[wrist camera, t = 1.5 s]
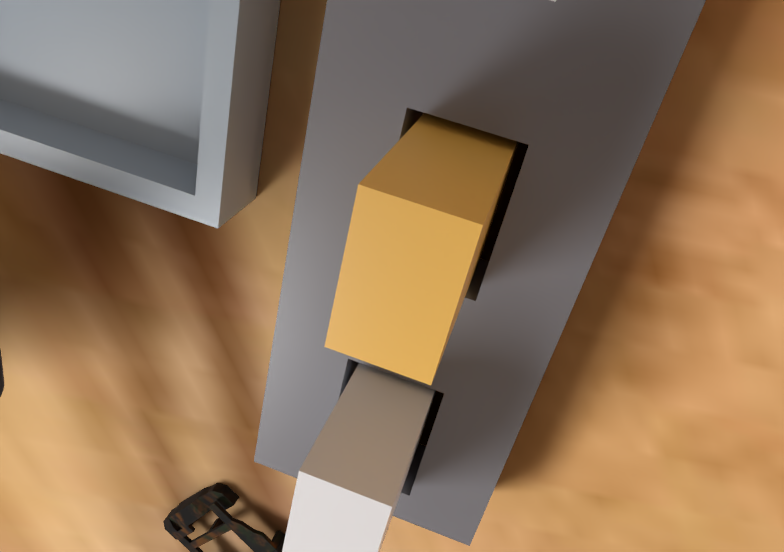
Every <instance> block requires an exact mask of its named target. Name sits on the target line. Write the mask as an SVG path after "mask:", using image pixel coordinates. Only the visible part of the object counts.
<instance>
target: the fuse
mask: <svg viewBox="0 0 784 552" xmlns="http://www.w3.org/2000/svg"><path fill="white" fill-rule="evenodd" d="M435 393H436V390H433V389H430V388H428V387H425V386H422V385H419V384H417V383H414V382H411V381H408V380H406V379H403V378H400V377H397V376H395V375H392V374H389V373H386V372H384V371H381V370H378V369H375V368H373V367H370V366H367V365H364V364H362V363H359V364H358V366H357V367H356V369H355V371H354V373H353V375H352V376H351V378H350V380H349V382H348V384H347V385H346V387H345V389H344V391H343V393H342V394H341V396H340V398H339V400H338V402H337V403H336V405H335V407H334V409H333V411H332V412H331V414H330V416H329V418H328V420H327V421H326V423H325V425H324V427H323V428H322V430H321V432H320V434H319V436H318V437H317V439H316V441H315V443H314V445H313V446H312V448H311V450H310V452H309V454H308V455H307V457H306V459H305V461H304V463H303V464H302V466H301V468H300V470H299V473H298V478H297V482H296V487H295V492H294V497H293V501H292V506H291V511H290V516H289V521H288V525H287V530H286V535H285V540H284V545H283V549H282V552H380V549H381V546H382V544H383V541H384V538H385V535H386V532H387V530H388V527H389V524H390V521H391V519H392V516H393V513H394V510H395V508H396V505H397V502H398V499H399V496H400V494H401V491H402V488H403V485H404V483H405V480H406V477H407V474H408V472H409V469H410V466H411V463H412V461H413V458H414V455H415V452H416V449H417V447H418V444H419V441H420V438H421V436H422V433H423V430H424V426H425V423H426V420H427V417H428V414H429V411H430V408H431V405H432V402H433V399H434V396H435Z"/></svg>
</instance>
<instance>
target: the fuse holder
mask: <svg viewBox="0 0 784 552" xmlns="http://www.w3.org/2000/svg"><path fill="white" fill-rule="evenodd" d="M705 1H706V0H556V2H554V1H551V0H327V4H326V10H325V17H324V23H323V29H322V36H321V42H320V48H319V55H318V61H317V67H316V73H315V80H314V86H313V92H312V99H311V105H310V111H309V118H308V124H307V130H306V137H305V143H304V149H303V155H302V162H301V168H300V174H299V181H298V187H297V193H296V200H295V206H294V212H293V219H292V225H291V231H290V237H289V244H288V250H287V256H286V263H285V269H284V275H283V282H282V288H281V294H280V301H279V307H278V313H277V319H276V326H275V332H274V338H273V345H272V351H271V357H270V364H269V370H268V376H267V382H266V389H265V395H264V401H263V408H262V414H261V420H260V427H259V433H258V439H257V446H256V452H255V458H254V462H257V463H260V464H262V465H265V466H267V467H270V468H272V469H275V470H277V471H280V472H283V473H285V474H288V475H290V476H293V477H295V478H298V473H299V470H300V468H301V466H302V464H303V463H304V461H305V459H306V457H307V455H308V454H309V452H310V450H311V448H312V446H313V445H314V443H315V441H316V439H317V437H318V436H319V434H320V432H321V430H322V428H323V427H324V425H325V423H326V421H327V420H328V418H329V416H330V414H331V412H332V411H333V409H334V407H335V405H336V403H337V402H338V400H339V398H340V396H341V394H342V393H343V391H344V389H345V387H346V385H347V384H348V382H349V380H350V378H351V376H352V375H353V373H354V371H355V369H356V367H357V366H358V364H359V363H362V364H364V365H367V366H370V367H373V368H375V369H378V370H381V371H384V372H386V373H389V374H392V375H395V376H397V377H400V378H403V379H406V380H408V381H411V382H414V383H417V384H419V385H422V386H425V387H428V388H430V389H433V390H436V391H439V392H441V393H444V396H443V399H442V402H441V405H440V408H439V411H438V413H437V416H436V419H435V422H434V425H433V428H432V431H431V434H430V437H429V440H428V443H427V446H425V445H423V444H420V443H419V444H418V447H417V449H416V452H415V455H414V458H413V461H412V463H411V466H410V469H409V472H408V474H407V477H406V480H405V483H404V485H403V488H402V491H401V494H400V496H399V499H398V502H397V505H396V508H395V510H394V513H393V516H395V517H397V518H400V519H402V520H405V521H408V522H410V523H413V524H415V525H418V526H420V527H423V528H425V529H428V530H431V531H433V532H436V533H438V534H441V535H443V536H446V537H448V538H451V539H453V540H456V541H459V542H461V543H464V544H466V545H469V546H470V544H471V541H472V539H473V537H474V534H475V532H476V530H477V528H478V525H479V523H480V521H481V518H482V516H483V514H484V511H485V509H486V507H487V504H488V502H489V500H490V497H491V495H492V493H493V491H494V488H495V486H496V484H497V481H498V479H499V477H500V474H501V472H502V470H503V467H504V465H505V463H506V461H507V458H508V456H509V454H510V451H511V449H512V447H513V444H514V442H515V440H516V437H517V435H518V433H519V431H520V428H521V426H522V424H523V421H524V419H525V417H526V414H527V412H528V410H529V407H530V405H531V403H532V401H533V398H534V396H535V394H536V391H537V389H538V387H539V384H540V382H541V380H542V377H543V375H544V373H545V370H546V368H547V366H548V364H549V361H550V359H551V357H552V354H553V352H554V350H555V347H556V345H557V343H558V340H559V338H560V336H561V334H562V331H563V329H564V327H565V324H566V322H567V320H568V317H569V315H570V313H571V310H572V308H573V306H574V304H575V301H576V299H577V297H578V294H579V292H580V290H581V287H582V285H583V283H584V280H585V278H586V276H587V273H588V271H589V269H590V267H591V264H592V262H593V260H594V257H595V255H596V253H597V250H598V248H599V246H600V243H601V241H602V239H603V237H604V234H605V232H606V230H607V227H608V225H609V223H610V220H611V218H612V216H613V213H614V211H615V209H616V207H617V204H618V202H619V200H620V197H621V195H622V193H623V190H624V188H625V186H626V183H627V181H628V179H629V177H630V174H631V172H632V170H633V167H634V165H635V163H636V160H637V158H638V156H639V153H640V151H641V149H642V146H643V144H644V142H645V140H646V137H647V135H648V133H649V130H650V128H651V126H652V123H653V121H654V119H655V116H656V114H657V112H658V110H659V107H660V105H661V103H662V100H663V98H664V96H665V93H666V91H667V89H668V86H669V84H670V82H671V80H672V77H673V75H674V73H675V70H676V68H677V66H678V63H679V61H680V59H681V56H682V54H683V52H684V49H685V47H686V45H687V43H688V40H689V38H690V36H691V33H692V31H693V29H694V26H695V24H696V22H697V19H698V17H699V15H700V13H701V10H702V8H703V6H704V3H705ZM423 113H427V114H430V115H433V116H436V117H440V118H443V119H446V120H449V121H453V122H456V123H459V124H463V125H466V126H469V127H472V128H476V129H479V130H482V131H485V132H489V133H492V134H495V135H498V136H502V137H505V138H508V139H511V140H515V141H518V142H521V143H524V144H528V145H529V146H528V149H527V152H526V155H525V158H524V161H523V164H522V167H521V170H520V173H519V176H518V179H517V181H516V184H515V187H514V190H513V193H512V196H511V199H510V202H509V205H508V208H507V211H506V214H505V217H504V220H503V223H502V226H501V228H500V231H499V234H498V237H497V240H496V243H495V246H494V249H493V252H492V255H491V258H490V261H487V260H484V259H481V258H480V259H479V262H478V264H477V267H476V270H475V272H474V275H473V277H472V280H471V283H470V285H469V288H468V290H467V293H466V296H465V298H464V301H463V303H462V306H461V309H460V311H459V314H458V316H457V319H456V322H455V324H454V327H453V330H452V332H451V335H450V337H449V340H448V343H447V345H446V348H445V350H444V353H443V356H442V358H441V361H440V363H439V366H438V369H437V371H436V374H435V376H434V379H433V382H432V384H431V385H428V384H425V383H423V382H420V381H417V380H414V379H412V378H409V377H406V376H403V375H401V374H398V373H395V372H392V371H390V370H387V369H384V368H381V367H379V366H376V365H373V364H370V363H368V362H365V361H362V360H359V359H357V358H354V357H351V356H348V355H346V354H343V353H340V352H337V351H335V350H332V349H329V348H326V347H324V346H325V341H326V336H327V332H328V327H329V322H330V317H331V312H332V308H333V303H334V298H335V293H336V288H337V284H338V279H339V274H340V269H341V264H342V260H343V255H344V250H345V245H346V241H347V236H348V231H349V226H350V221H351V217H352V212H353V207H354V202H355V197H356V193H357V188H358V184H359V183H360V182H361V181H362V180H363V179H364V178H365V176H366V175H367V174H368V173H369V172H370V171H371V170H372V169H373V168H374V167H375V166H376V165H377V164H378V163H379V161H380V160H381V159H382V158H383V157H384V156H385V155H386V154H387V153H388V152H389V151H390V150H391V149H392V147H393V146H394V145H395V144H396V143H397V142H398V141H399V140H400V139H401V138H402V137H403V136H404V135H405V133H406V132H407V131H408V130H409V129H410V128H411V127H412V126H413V125H414V124H415V123H416V122H417V121H418V119H419V118H420V117H421V116H422V115H423Z"/></svg>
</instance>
